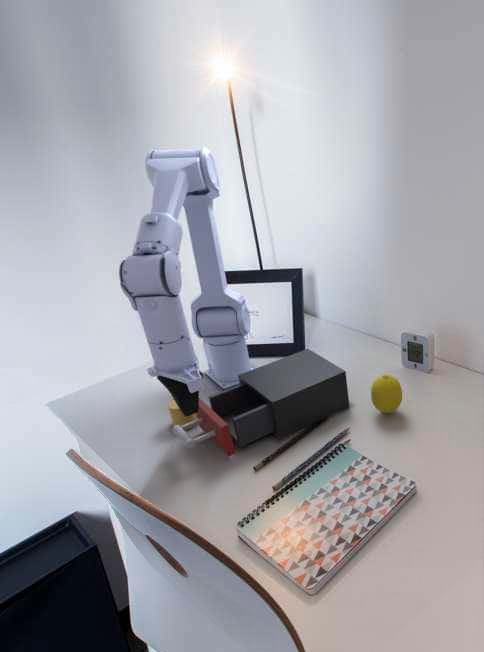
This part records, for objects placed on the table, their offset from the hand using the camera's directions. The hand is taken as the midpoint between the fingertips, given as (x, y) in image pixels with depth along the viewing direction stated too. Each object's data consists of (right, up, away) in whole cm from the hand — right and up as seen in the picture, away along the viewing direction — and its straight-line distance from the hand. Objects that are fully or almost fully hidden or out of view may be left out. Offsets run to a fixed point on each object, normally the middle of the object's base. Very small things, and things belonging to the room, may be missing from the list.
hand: (190, 412), depth 84 cm
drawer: (+5, -4, +7) cm, 9 cm away
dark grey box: (+14, 0, +14) cm, 20 cm away
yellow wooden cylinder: (-6, -3, +11) cm, 13 cm away
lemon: (+31, -1, +12) cm, 33 cm away
